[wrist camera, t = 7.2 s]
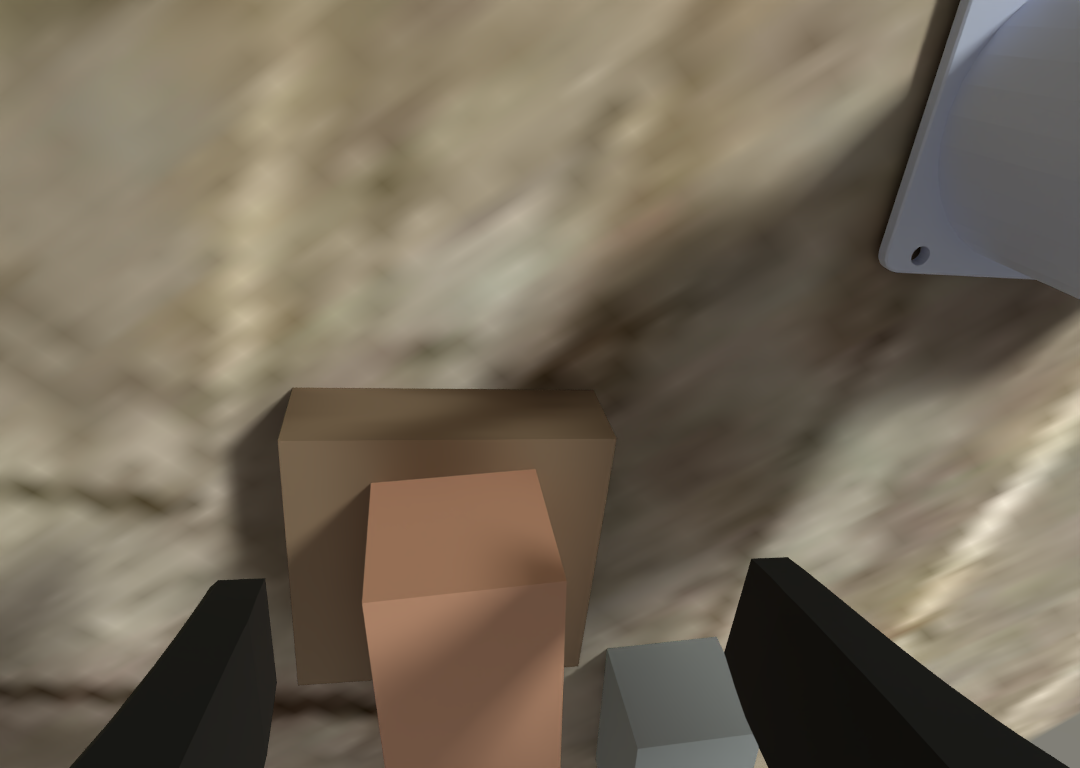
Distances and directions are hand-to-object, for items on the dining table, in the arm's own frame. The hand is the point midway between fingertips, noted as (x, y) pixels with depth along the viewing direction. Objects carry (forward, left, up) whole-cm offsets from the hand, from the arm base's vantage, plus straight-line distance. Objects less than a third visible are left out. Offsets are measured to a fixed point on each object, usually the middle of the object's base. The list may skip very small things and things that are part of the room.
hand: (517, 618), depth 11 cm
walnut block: (+1, +5, -10) cm, 11 cm away
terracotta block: (0, +5, -7) cm, 9 cm away
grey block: (-8, +14, -10) cm, 19 cm away
